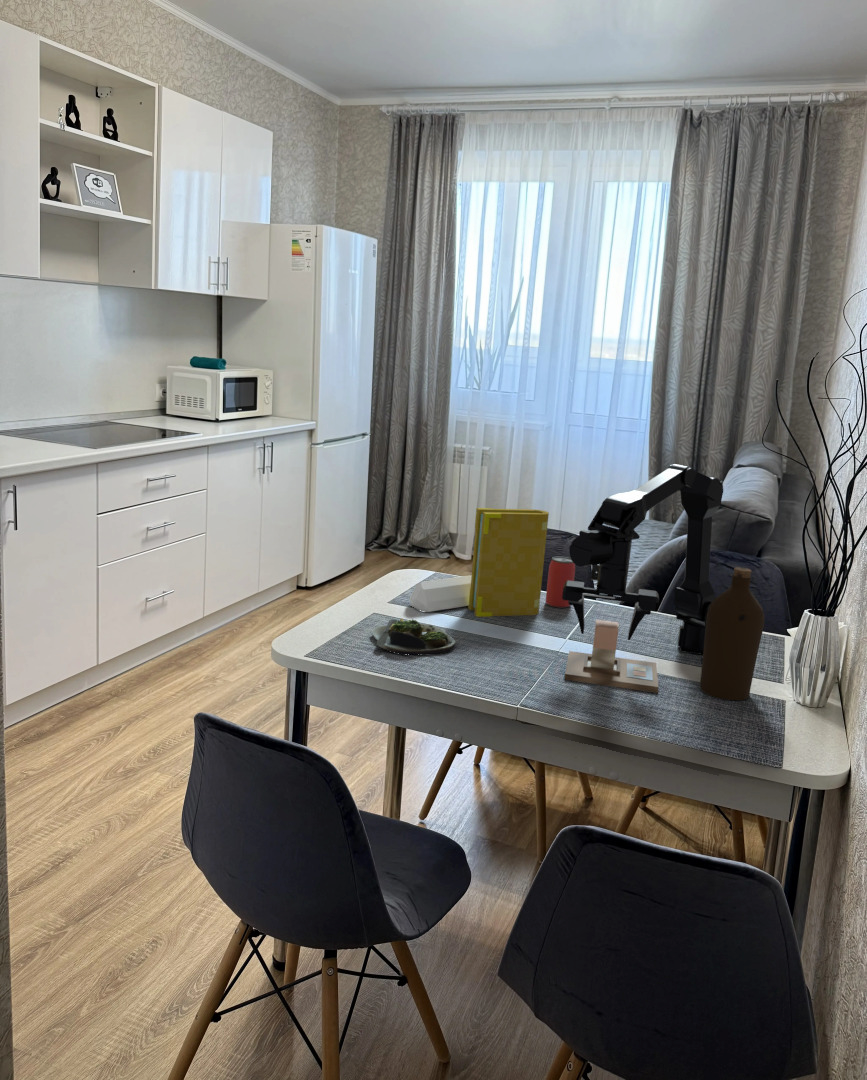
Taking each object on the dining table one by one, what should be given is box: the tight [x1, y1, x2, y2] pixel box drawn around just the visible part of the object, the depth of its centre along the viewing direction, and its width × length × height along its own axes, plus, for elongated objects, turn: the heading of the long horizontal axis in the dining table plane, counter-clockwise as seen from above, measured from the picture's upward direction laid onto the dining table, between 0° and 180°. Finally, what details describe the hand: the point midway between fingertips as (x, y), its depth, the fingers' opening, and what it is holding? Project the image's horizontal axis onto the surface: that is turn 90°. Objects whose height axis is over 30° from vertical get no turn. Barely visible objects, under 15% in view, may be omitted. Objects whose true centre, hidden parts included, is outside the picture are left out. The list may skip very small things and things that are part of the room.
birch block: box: [591, 641, 617, 670], centre depth 180 cm, size 4×4×4 cm
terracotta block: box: [592, 619, 620, 652], centre depth 179 cm, size 4×4×4 cm
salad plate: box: [371, 618, 456, 656], centre depth 192 cm, size 19×18×5 cm
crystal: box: [409, 574, 472, 613], centre depth 219 cm, size 7×7×24 cm
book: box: [467, 507, 550, 618], centre depth 214 cm, size 17×7×25 cm, turn 106°
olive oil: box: [699, 566, 765, 701], centre depth 173 cm, size 11×11×25 cm
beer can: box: [545, 556, 576, 609], centre depth 225 cm, size 7×7×12 cm
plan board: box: [563, 650, 659, 694], centre depth 180 cm, size 18×14×2 cm
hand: (605, 636), depth 179 cm, fingers open, 9 cm apart
